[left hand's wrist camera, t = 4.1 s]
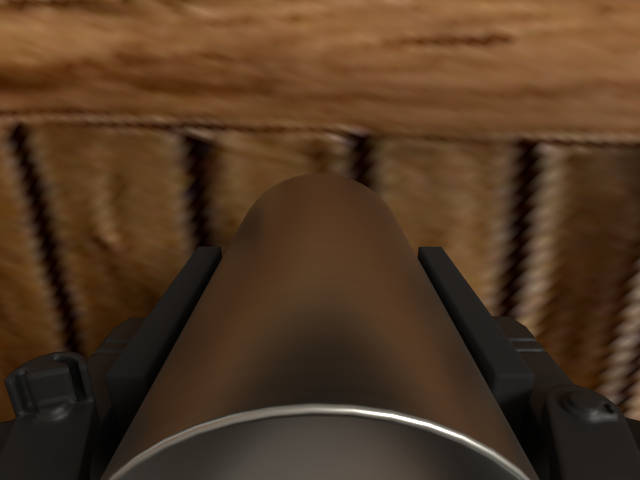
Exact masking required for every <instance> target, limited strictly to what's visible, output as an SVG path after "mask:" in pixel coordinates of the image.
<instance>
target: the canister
mask: <svg viewBox="0 0 640 480" xmlns="http://www.w3.org/2000/svg"><path fill="white" fill-rule="evenodd" d="M100 480H539V478H538V476H537V474H536V472H535V470H534V469H533V467H532V465H531V463H530V461H529V460H528V458H527V456H526V454H525V452H524V451H523V449H522V447H521V445H520V443H519V441H518V440H517V438H516V436H515V434H514V432H513V431H512V429H511V427H510V425H509V423H508V421H507V420H506V418H505V416H504V414H503V412H502V411H501V409H500V407H499V405H498V403H497V401H496V400H495V398H494V396H493V394H492V392H491V391H490V389H489V387H488V385H487V383H486V382H485V380H484V378H483V376H482V374H481V372H480V371H479V369H478V367H477V365H476V363H475V362H474V360H473V358H472V356H471V354H470V352H469V351H468V349H467V347H466V345H465V343H464V342H463V340H462V338H461V336H460V334H459V333H458V331H457V329H456V327H455V325H454V323H453V322H452V320H451V318H450V316H449V314H448V313H447V311H446V309H445V307H444V305H443V303H442V302H441V300H440V298H439V296H438V294H437V293H436V291H435V289H434V287H433V285H432V283H431V282H430V280H429V278H428V276H427V274H426V273H425V271H424V269H423V267H422V265H421V264H420V262H419V260H418V258H417V256H416V254H415V253H414V251H413V249H412V247H411V245H410V244H409V242H408V240H407V238H406V236H405V234H404V233H403V231H402V229H401V227H400V225H399V224H398V222H397V220H396V218H395V216H394V214H393V213H392V211H391V210H390V209H389V207H388V206H387V204H386V203H385V202H384V201H383V200H382V199H381V198H380V197H379V196H378V195H377V194H376V193H374V192H373V191H372V190H371V189H369V188H367V187H366V186H364V185H363V184H361V183H359V182H356V181H354V180H352V179H349V178H346V177H343V176H338V175H332V174H307V175H302V176H297V177H294V178H291V179H288V180H285V181H283V182H281V183H279V184H277V185H275V186H274V187H272V188H271V189H269V190H268V191H267V192H265V193H264V194H263V195H262V196H261V197H260V198H259V199H258V200H257V201H256V202H255V203H254V204H253V206H252V207H251V208H250V209H249V211H248V213H247V214H246V216H245V218H244V220H243V221H242V223H241V225H240V227H239V229H238V231H237V232H236V234H235V236H234V238H233V240H232V241H231V243H230V245H229V247H228V249H227V250H226V252H225V254H224V256H223V258H222V260H221V261H220V263H219V265H218V267H217V269H216V270H215V272H214V274H213V276H212V278H211V280H210V281H209V283H208V285H207V287H206V289H205V290H204V292H203V294H202V296H201V298H200V299H199V301H198V303H197V305H196V307H195V309H194V310H193V312H192V314H191V316H190V318H189V319H188V321H187V323H186V325H185V327H184V328H183V330H182V332H181V334H180V336H179V338H178V339H177V341H176V343H175V345H174V347H173V348H172V350H171V352H170V354H169V356H168V357H167V359H166V361H165V363H164V365H163V367H162V368H161V370H160V372H159V374H158V376H157V377H156V379H155V381H154V383H153V385H152V387H151V388H150V390H149V392H148V394H147V396H146V397H145V399H144V401H143V403H142V405H141V406H140V408H139V410H138V412H137V414H136V416H135V417H134V419H133V421H132V423H131V425H130V426H129V428H128V430H127V432H126V434H125V435H124V437H123V439H122V441H121V443H120V445H119V446H118V448H117V450H116V452H115V454H114V455H113V457H112V459H111V461H110V463H109V464H108V466H107V468H106V470H105V472H104V474H103V475H102V477H101V479H100Z"/></svg>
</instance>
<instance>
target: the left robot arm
mask: <svg viewBox="0 0 640 480" xmlns="http://www.w3.org/2000/svg"><path fill="white" fill-rule="evenodd" d="M221 260H222V253H221V247H198V248H197V250H196V251H195V252H194V254H193V255H192V256H191V258H190V259H189V260H188V262H187V263H186V265H185V266H184V267H183V269H182V270H181V271H180V273H179V274H178V276H177V277H176V278H175V280H174V281H173V282H172V284H171V285H170V287H169V288H168V289H167V291H166V292H165V293H164V295H163V296H162V297H161V299H160V300H159V302H158V303H157V304H156V306H155V307H154V308H153V310H152V311H151V313H150V314H149V315H148V317H147V318H129V319H128V320H126V321H125V322H123V323H121V324H120V325H118V326H117V327H115V328H114V329H113V330H112V331H111V333H110V334H109V335H108V336H107V337H106V339H105V340H104V343H101V345H100V346H99V347H98V348H97V349H96V351H95V353H93V354H92V355H91V357H90V358H89V359H88V360H87V361H86V359H85V357H83V356H82V355H81V354H79V353H75V352H70V351H65V352H54V353H50V354H46V355H43V356H39V357H37V358H34V359H32V360H30V361H28V362H26V363H24V364H22V365H21V366H19V367H18V368H16V369H15V370H13V371H12V372H11V373H10V374H9V376H8V377H7V378H6V379H5V380H4V382H5V385H6V388H7V391H8V394H9V397H10V400H11V403H12V406H13V409H14V412H15V415H16V418H15V419H13V420H10V421H6V422H1V423H0V480H100V479H101V477H102V475H103V474H104V472H105V470H106V468H107V466H108V464H109V463H110V461H111V459H112V457H113V455H114V454H115V452H116V450H117V448H118V446H119V445H120V443H121V441H122V439H123V437H124V435H125V434H126V432H127V430H128V428H129V426H130V425H131V423H132V421H133V419H134V417H135V416H136V414H137V412H138V410H139V408H140V406H141V405H142V403H143V401H144V399H145V397H146V396H147V394H148V392H149V390H150V388H151V387H152V385H153V383H154V381H155V379H156V377H157V376H158V374H159V372H160V370H161V368H162V367H163V365H164V363H165V361H166V359H167V357H168V356H169V354H170V352H171V350H172V348H173V347H174V345H175V343H176V341H177V339H178V338H179V336H180V334H181V332H182V330H183V328H184V327H185V325H186V323H187V321H188V319H189V318H190V316H191V314H192V312H193V310H194V309H195V307H196V305H197V303H198V301H199V299H200V298H201V296H202V294H203V292H204V290H205V289H206V287H207V285H208V283H209V281H210V280H211V278H212V276H213V274H214V272H215V270H216V269H217V267H218V265H219V263H220V261H221ZM418 260H419V262H420V264H421V265H422V267H423V269H424V271H425V273H426V274H427V276H428V278H429V280H430V282H431V283H432V285H433V287H434V289H435V291H436V293H437V294H438V296H439V298H440V300H441V302H442V303H443V305H444V307H445V309H446V311H447V313H448V314H449V316H450V318H451V320H452V322H453V323H454V325H455V327H456V329H457V331H458V333H459V334H460V336H461V338H462V340H463V342H464V343H465V345H466V347H467V349H468V351H469V352H470V354H471V356H472V358H473V360H474V362H475V363H476V365H477V367H478V369H479V371H480V372H481V374H482V376H483V378H484V380H485V382H486V383H487V385H488V387H489V389H490V391H491V392H492V394H493V396H494V398H495V400H496V401H497V403H498V405H499V407H500V409H501V411H502V412H503V414H504V416H505V418H506V420H507V421H508V423H509V425H510V427H511V429H512V431H513V432H514V434H515V436H516V438H517V440H518V441H519V443H520V445H521V447H522V449H523V451H524V452H525V454H526V456H527V458H528V460H529V461H530V463H531V465H532V467H533V469H534V470H535V472H536V474H537V476H538V478H539V480H640V421H638V420H633V419H629V418H626V417H624V415H623V414H622V413H621V411H620V410H619V408H618V407H617V406H616V405H615V404H614V403H612V402H611V401H610V400H609V399H607V398H606V397H604V396H602V395H600V394H599V393H597V392H595V391H593V390H590V389H587V388H584V387H580V386H577V385H574V384H573V383H572V381H571V380H570V379H569V378H568V377H567V375H566V374H565V373H564V372H563V371H562V369H561V368H560V367H559V366H558V365H557V363H556V362H555V361H554V360H553V359H552V357H551V356H550V355H549V354H548V353H547V352H545V349H544V348H543V347H542V346H541V344H540V343H539V342H536V338H535V337H534V336H533V335H532V334H531V332H530V331H529V330H528V329H527V328H526V327H525V326H524V325H522V324H521V323H519V322H517V321H516V320H514V319H513V318H511V317H510V316H491V314H490V313H489V312H488V310H487V309H486V307H485V306H484V305H483V303H482V302H481V301H480V299H479V298H478V296H477V295H476V294H475V292H474V291H473V290H472V288H471V287H470V286H469V284H468V283H467V281H466V280H465V279H464V277H463V276H462V275H461V273H460V272H459V270H458V269H457V268H456V266H455V265H454V264H453V262H452V261H451V260H450V258H449V257H448V255H447V254H446V253H445V251H444V250H443V249H442V247H419V250H418Z"/></svg>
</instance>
